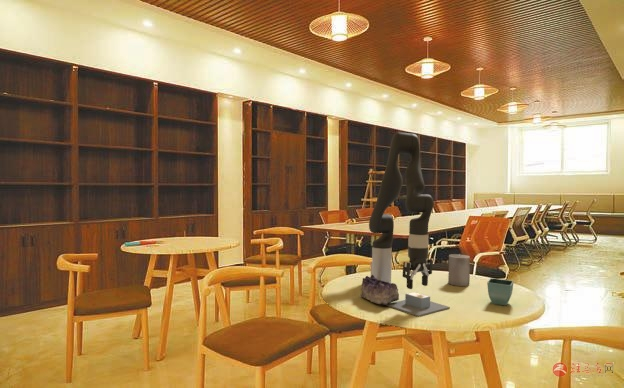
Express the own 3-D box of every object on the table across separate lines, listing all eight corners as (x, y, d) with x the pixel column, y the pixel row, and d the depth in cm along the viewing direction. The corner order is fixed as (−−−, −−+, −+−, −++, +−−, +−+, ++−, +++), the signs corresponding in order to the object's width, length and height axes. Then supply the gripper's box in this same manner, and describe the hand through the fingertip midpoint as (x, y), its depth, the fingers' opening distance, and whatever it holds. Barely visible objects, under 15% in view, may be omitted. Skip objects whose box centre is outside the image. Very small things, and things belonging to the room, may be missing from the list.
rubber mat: (386, 305, 158) (386, 304, 158) (417, 298, 168) (417, 297, 168) (418, 316, 145) (418, 315, 145) (449, 308, 155) (449, 306, 155)
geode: (350, 296, 170) (352, 272, 171) (372, 297, 176) (374, 273, 177) (379, 306, 152) (381, 279, 153) (403, 306, 158) (404, 280, 159)
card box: (421, 309, 152) (421, 298, 152) (405, 303, 158) (405, 293, 158) (430, 307, 154) (430, 296, 154) (413, 301, 161) (414, 291, 161)
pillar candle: (453, 280, 201) (454, 250, 201) (473, 284, 194) (473, 253, 194) (444, 283, 194) (445, 253, 194) (464, 287, 187) (464, 255, 187)
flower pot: (511, 308, 156) (511, 285, 156) (486, 304, 161) (486, 282, 161) (513, 302, 164) (513, 280, 163) (489, 299, 168) (490, 277, 168)
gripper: (422, 242, 163) (421, 282, 163) (398, 245, 155) (397, 287, 155) (438, 245, 157) (437, 286, 157) (413, 248, 149) (412, 292, 149)
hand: (417, 287), depth 156 cm, fingers open, 8 cm apart
